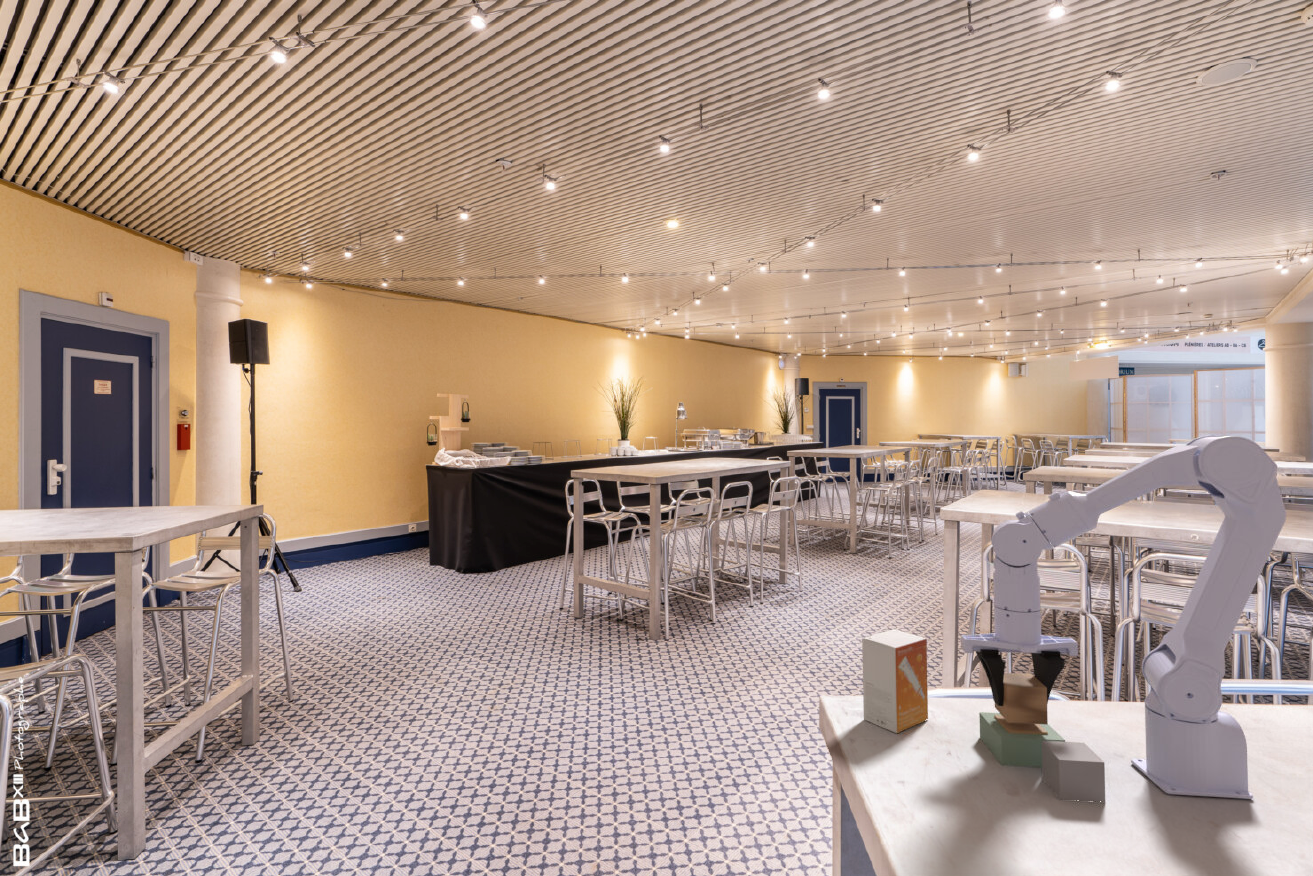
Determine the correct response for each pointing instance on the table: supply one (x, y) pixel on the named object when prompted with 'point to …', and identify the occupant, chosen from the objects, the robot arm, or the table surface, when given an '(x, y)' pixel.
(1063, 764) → the grey cube
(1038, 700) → the walnut cube
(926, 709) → the small box
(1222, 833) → the table surface
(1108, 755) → the table surface
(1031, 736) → the green block
